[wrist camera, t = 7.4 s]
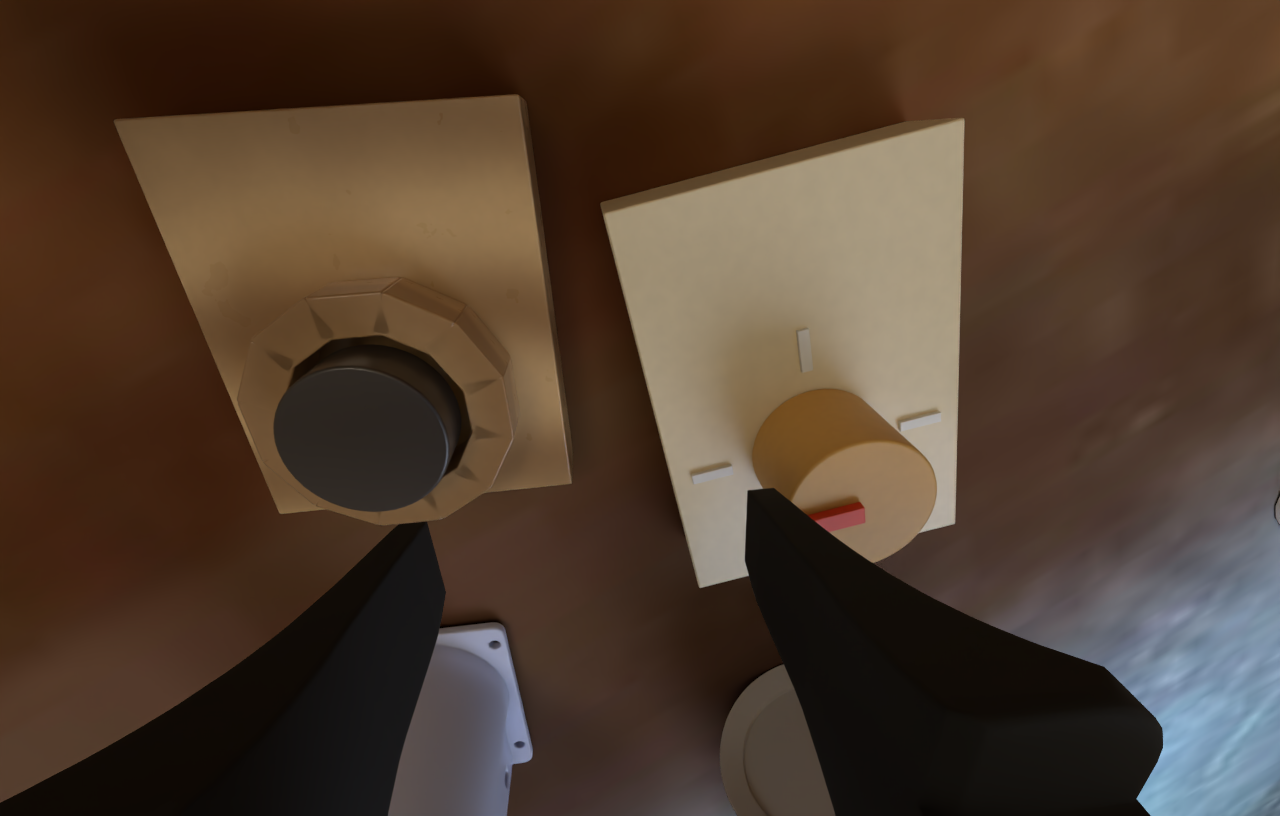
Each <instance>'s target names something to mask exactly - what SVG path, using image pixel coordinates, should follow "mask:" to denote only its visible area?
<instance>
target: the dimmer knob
mask: <svg viewBox="0 0 1280 816" xmlns="http://www.w3.org/2000/svg"><path fill="white" fill-rule="evenodd" d="M752 460H753V467H754V471H755V474H756V476H757V478H758V480H759V482H760V484H761V486H762V488H763V489H766V488H775V489H776V490H777V491H778V492H780V493H781V494H782V495H783V496H785V497H786V498H787V499H788V500H789V501H791V502H792V503H793V504H794V505H796V506H797V507H798V508H799V509H800V510H802V511H803V512H804V513H805V514H807V515H808V516H809V517H810V518H811V519H813V520H814V521H815V522H817V523H818V524H819V525H820V526H822V527H823V528H824V529H825V530H827V531H828V532H829V533H831V534H832V535H833V536H835V537H836V538H837V539H839V540H840V541H841V542H843V543H844V544H846V545H847V546H848V547H850V548H851V549H853V550H854V551H855V552H857V553H858V554H860V555H861V556H863V557H864V558H866V559H867V560H869V561H870V562H872V563H875V562H877V561H880V560H882V559H885V558H886V557H888V556H890V555H892V554H894V553H895V552H897V551H899V550H900V549H902V548H903V547H904V546H905V545H907V544H908V543H909V542H910V541H911V540H912V539H913V538H914V537H915V536H916V535H917V534H918V533H919V532H920V531H921V530H922V528H923V527H924V525H925V524H926V522H927V521H928V519H929V517H930V515H931V513H932V511H933V508H934V505H935V501H936V496H937V482H936V477H935V473H934V470H933V468H932V466H931V464H930V462H929V461H928V460H927V458H926V457H925V456H924V455H923V454H922V453H921V452H920V451H919V450H918V449H917V448H916V447H914V446H913V445H912V444H911V443H910V442H909V441H908V440H907V439H906V438H905V437H904V436H902V435H901V434H900V433H899V432H898V431H897V430H896V429H895V428H894V427H893V426H891V425H890V424H889V423H888V422H887V421H886V420H885V419H884V418H883V417H882V416H881V415H879V414H878V413H877V412H876V411H875V410H874V409H873V408H872V407H871V406H870V405H868V404H867V403H866V402H865V401H864V400H863V399H861V398H860V397H858V396H856V395H854V394H852V393H850V392H847V391H843V390H837V389H818V390H813V391H808V392H805V393H802V394H799V395H797V396H795V397H793V398H791V399H789V400H788V401H786V402H784V403H783V404H782V405H780V406H779V407H778V408H776V409H775V410H774V411H773V412H772V413H771V414H770V415H769V417H768V418H767V419H766V420H765V421H764V423H763V424H762V426H761V428H760V430H759V432H758V434H757V436H756V439H755V442H754V446H753V453H752Z"/></svg>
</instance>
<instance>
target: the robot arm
mask: <svg viewBox="0 0 1280 816" xmlns="http://www.w3.org/2000/svg"><path fill="white" fill-rule="evenodd" d="M745 564H746V567H747V571H748V574H749V578H750V581H751V585H752V588H753V591H754V595H755V598H756V601H757V603H758V606H759V608H760V611H761V613H762V615H763V618H764V620H765V622H766V625H767V627H768V629H769V632H770V634H771V636H772V639H773V641H774V643H775V645H776V648H777V650H778V652H779V655H780V657H781V659H782V662H783V664H784V666H785V668H786V671H787V673H788V675H789V678H790V680H791V682H792V685H793V687H794V689H795V692H796V694H797V697H798V700H799V702H800V705H801V707H802V710H803V713H804V716H805V719H806V722H807V725H808V728H809V732H810V735H811V738H812V741H813V744H814V747H815V750H816V753H817V756H818V760H819V763H820V766H821V769H822V773H823V776H824V779H825V782H826V786H827V789H828V792H829V796H830V799H831V802H832V805H833V809H834V812H835V816H1150V815H1149V813H1148V812H1147V811H1146V810H1145V809H1144V807H1143V806H1142V805H1141V804H1140V803H1139V802H1138V800H1137V799H1136V798H1137V797H1138V795H1139V793H1140V791H1141V790H1142V788H1143V786H1144V784H1145V783H1146V781H1147V779H1148V777H1149V776H1150V774H1151V772H1152V770H1153V769H1154V767H1155V765H1156V763H1157V762H1158V759H1159V756H1160V754H1161V751H1162V749H1163V732H1162V727H1161V726H1160V724H1159V723H1158V721H1157V720H1156V718H1155V717H1154V716H1153V715H1152V714H1151V713H1150V712H1149V711H1148V710H1147V709H1146V708H1145V707H1144V706H1143V705H1142V704H1141V703H1140V702H1139V701H1138V700H1137V699H1136V698H1135V697H1134V696H1133V695H1132V694H1131V693H1130V692H1129V691H1128V690H1127V689H1126V688H1125V687H1124V686H1123V685H1122V684H1121V683H1120V682H1119V681H1118V680H1117V679H1116V678H1115V677H1114V676H1113V675H1112V674H1111V673H1110V672H1109V671H1108V670H1107V669H1106V668H1105V667H1103V666H1100V665H1097V664H1094V663H1091V662H1088V661H1085V660H1082V659H1079V658H1076V657H1073V656H1070V655H1067V654H1065V653H1062V652H1059V651H1056V650H1053V649H1050V648H1047V647H1044V646H1041V645H1038V644H1036V643H1033V642H1030V641H1028V640H1025V639H1023V638H1020V637H1018V636H1015V635H1013V634H1010V633H1008V632H1005V631H1003V630H1000V629H998V628H995V627H993V626H991V625H989V624H986V623H984V622H982V621H979V620H977V619H975V618H973V617H970V616H968V615H966V614H964V613H962V612H960V611H958V610H956V609H954V608H952V607H950V606H948V605H946V604H944V603H941V602H939V601H937V600H935V599H933V598H932V597H930V596H928V595H926V594H924V593H922V592H920V591H918V590H917V589H915V588H913V587H911V586H910V585H908V584H906V583H904V582H903V581H901V580H899V579H898V578H896V577H894V576H892V575H891V574H889V573H887V572H886V571H884V570H883V569H881V568H879V567H878V566H876V565H875V564H873V563H872V562H870V561H869V560H867V559H866V558H864V557H863V556H861V555H860V554H858V553H857V552H855V551H854V550H853V549H851V548H850V547H848V546H847V545H846V544H844V543H843V542H841V541H840V540H839V539H837V538H836V537H835V536H833V535H832V534H831V533H829V532H828V531H827V530H825V529H824V528H823V527H822V526H820V525H819V524H818V523H817V522H815V521H814V520H813V519H811V518H810V517H809V516H808V515H807V514H805V513H804V512H803V511H802V510H800V509H799V508H798V507H797V506H796V505H794V504H793V503H792V502H791V501H789V500H788V499H787V498H786V497H785V496H783V495H782V494H781V493H780V492H778V491H777V490H776V489H775V488H766V489H756V490H747V514H746V539H745ZM445 594H446V591H445V587H444V584H443V580H442V576H441V572H440V569H439V565H438V561H437V557H436V554H435V550H434V546H433V543H432V539H431V535H430V531H429V528H428V524H427V522H419V523H409V524H399V525H398V526H397V527H395V528H394V529H393V530H392V531H391V532H390V533H389V534H388V535H387V536H386V537H385V538H383V539H382V540H381V541H380V542H379V543H378V544H377V545H376V546H375V547H374V548H373V549H372V550H371V551H370V552H369V553H368V554H367V555H366V556H365V557H364V558H363V559H362V560H361V561H360V562H359V563H358V564H357V565H355V566H354V567H353V568H352V569H351V570H350V571H349V572H348V573H347V574H346V575H345V576H344V577H343V578H342V579H341V580H340V581H339V582H337V583H336V584H335V585H334V586H333V587H332V588H331V589H330V590H329V591H328V592H327V593H325V594H324V595H323V596H322V597H321V598H320V599H318V600H317V601H316V602H315V603H314V604H313V605H312V606H310V607H309V608H308V609H307V610H306V611H305V612H304V613H302V614H301V615H300V616H299V617H298V618H297V619H296V620H294V621H293V622H292V623H291V624H290V625H288V626H287V627H286V628H285V629H284V630H282V631H281V632H280V633H279V634H277V635H276V636H275V637H274V638H272V639H271V640H270V641H268V642H267V643H266V644H265V645H263V646H262V647H261V648H259V649H258V650H256V651H255V652H254V653H252V654H251V655H250V656H248V657H247V658H246V659H244V660H243V661H242V662H240V663H239V664H238V665H236V666H235V667H233V668H232V669H231V670H229V671H228V672H226V673H225V674H223V675H222V676H220V677H219V678H217V679H216V680H214V681H213V682H211V683H210V684H208V685H207V686H205V687H204V688H202V689H201V690H199V691H198V692H196V693H195V694H193V695H192V696H190V697H189V698H187V699H186V700H184V701H183V702H181V703H180V704H178V705H177V706H175V707H173V708H172V709H170V710H169V711H167V712H165V713H164V714H162V715H160V716H159V717H157V718H155V719H154V720H152V721H151V722H149V723H147V724H146V725H144V726H142V727H141V728H139V729H137V730H135V731H134V732H132V733H130V734H129V735H127V736H125V737H123V738H122V739H120V740H118V741H116V742H115V743H113V744H111V745H109V746H108V747H106V748H104V749H102V750H101V751H99V752H97V753H95V754H93V755H91V756H90V757H88V758H86V759H84V760H82V761H80V762H79V763H77V764H75V765H73V766H71V767H69V768H67V769H65V770H63V771H61V772H59V773H57V774H56V775H54V776H52V777H50V778H48V779H46V780H44V781H42V782H40V783H38V784H36V785H34V786H33V787H31V788H29V789H27V790H25V791H23V792H21V793H19V794H17V795H15V796H13V797H11V798H9V799H7V800H5V801H3V802H1V803H0V816H507V808H508V799H509V790H510V781H511V772H512V764H516V763H524V762H527V761H529V760H530V759H531V758H532V753H533V748H532V743H531V739H530V735H529V730H528V726H527V722H526V717H525V713H524V709H523V704H522V700H521V696H520V691H519V687H518V683H517V678H516V674H515V670H514V665H513V661H512V657H511V653H510V648H509V644H508V640H507V635H506V631H505V628H504V626H503V625H501V624H500V623H497V622H490V623H482V624H473V625H465V626H456V627H448V628H440V623H441V618H442V612H443V606H444V600H445ZM493 641H498V642H493Z"/></svg>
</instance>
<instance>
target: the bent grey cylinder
mask: <svg viewBox="0 0 1280 816" xmlns="http://www.w3.org/2000/svg"><path fill="white" fill-rule="evenodd" d="M720 769H721V775H722V780H723V784H724V788H725V791H726V794H727V797H728V799H729V801H730V803H731V805H732V807H733V809H734V811H735V812H736V814H737V816H835V812H834V809H833V805H832V802H831V799H830V796H829V792H828V789H827V786H826V782H825V779H824V776H823V773H822V769H821V766H820V763H819V760H818V756H817V753H816V750H815V747H814V744H813V741H812V738H811V735H810V732H809V728H808V725H807V722H806V719H805V716H804V713H803V710H802V707H801V705H800V702H799V700H798V697H797V694H796V692H795V689H794V687H793V685H792V682H791V680H790V678H789V675H788V673H787V671H786V668H785V666H784V664H783V665H780V666H778V667H775V668H773V669H771V670H769V671H767V672H766V673H764V674H763V675H761V676H760V677H758V678H757V679H756V680H755V681H753V682H752V683H751V684H750V685H749V686H748V687H747V688H746V689H745V690H744V691H743V692H742V694H741V695H740V696H739V698H738V699H737V700H736V702H735V704H734V705H733V707H732V709H731V711H730V713H729V715H728V717H727V720H726V722H725V726H724V729H723V732H722V738H721V744H720Z"/></svg>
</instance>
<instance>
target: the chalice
mask: <svg viewBox="0 0 1280 816" xmlns="http://www.w3.org/2000/svg"><path fill="white" fill-rule="evenodd" d="M1276 519H1277V521H1278V522H1279V524H1280V497H1279V499H1278V502H1277V504H1276Z"/></svg>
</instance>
